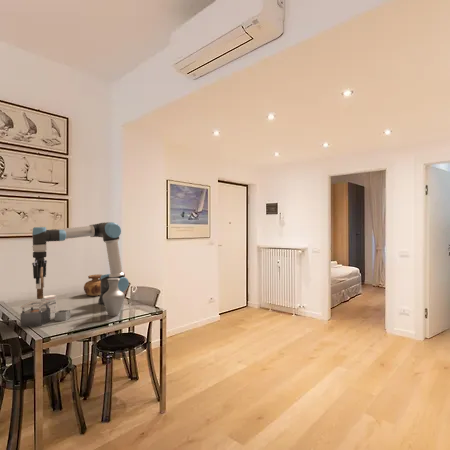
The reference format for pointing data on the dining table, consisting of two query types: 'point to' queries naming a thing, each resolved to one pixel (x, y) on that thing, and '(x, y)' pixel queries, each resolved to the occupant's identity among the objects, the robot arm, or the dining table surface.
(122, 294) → the vase
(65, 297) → the dining table surface
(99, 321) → the dining table surface
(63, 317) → the pen cup
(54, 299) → the ink box
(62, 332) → the dining table surface
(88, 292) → the clay pot
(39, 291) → the stylus
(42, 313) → the grey clear-topped case
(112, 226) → the robot arm
